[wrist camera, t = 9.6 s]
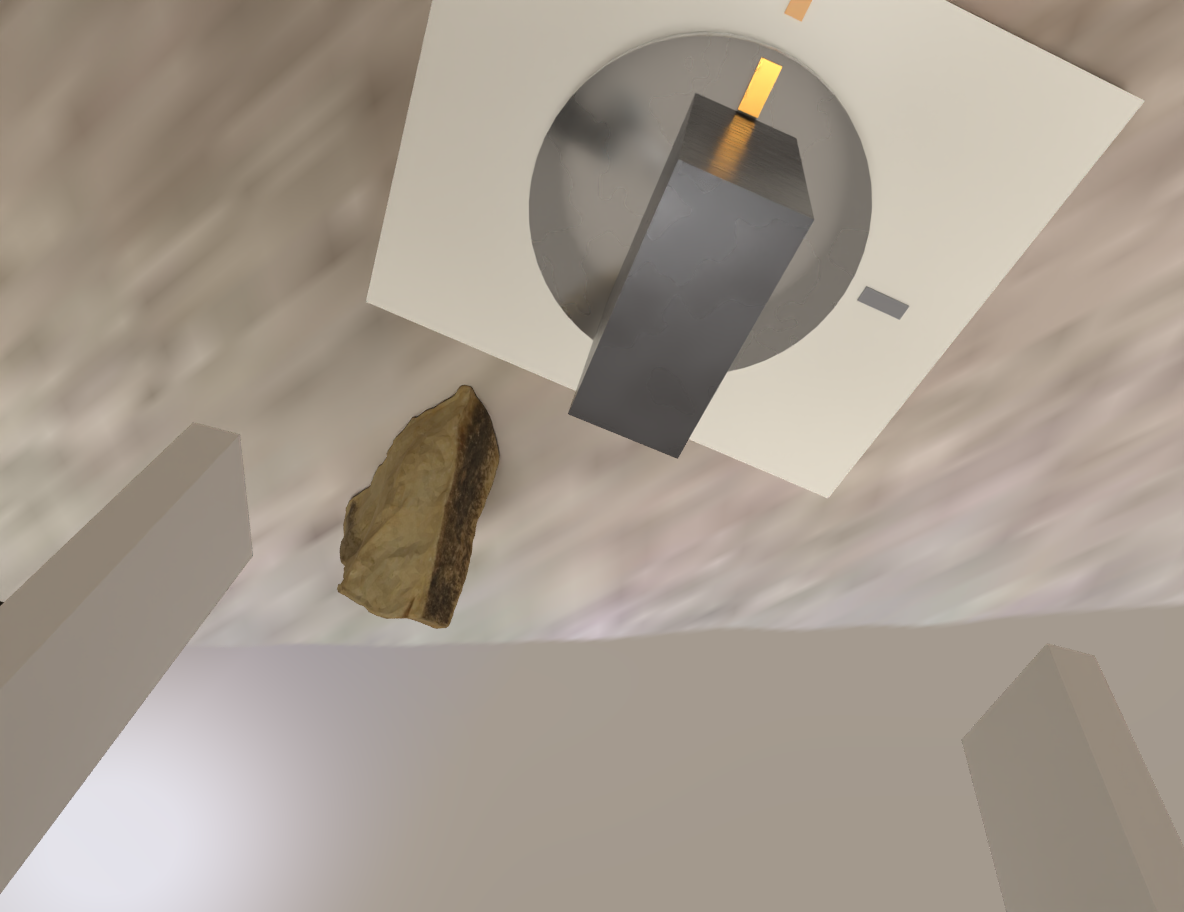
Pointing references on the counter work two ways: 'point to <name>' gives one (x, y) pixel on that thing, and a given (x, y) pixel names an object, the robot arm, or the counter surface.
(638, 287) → the dial
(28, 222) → the counter surface
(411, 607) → the rock
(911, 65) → the dial panel
